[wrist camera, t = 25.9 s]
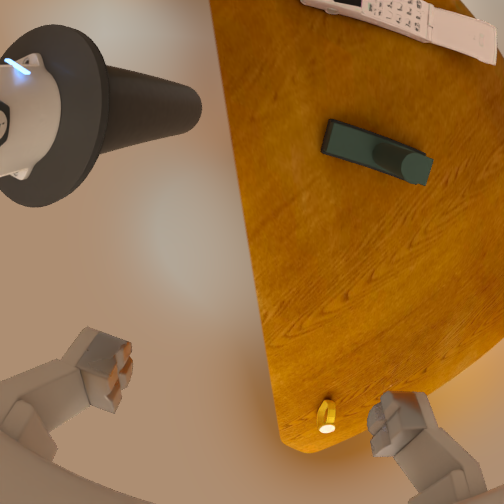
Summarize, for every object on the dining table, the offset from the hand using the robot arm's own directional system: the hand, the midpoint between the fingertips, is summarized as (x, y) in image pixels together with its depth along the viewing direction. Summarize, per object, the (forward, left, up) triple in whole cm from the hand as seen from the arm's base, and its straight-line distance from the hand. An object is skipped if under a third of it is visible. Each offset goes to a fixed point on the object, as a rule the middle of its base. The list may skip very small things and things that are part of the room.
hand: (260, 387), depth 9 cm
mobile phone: (+8, +25, -29) cm, 39 cm away
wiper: (+10, +7, -29) cm, 31 cm away
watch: (+19, -36, -29) cm, 50 cm away
